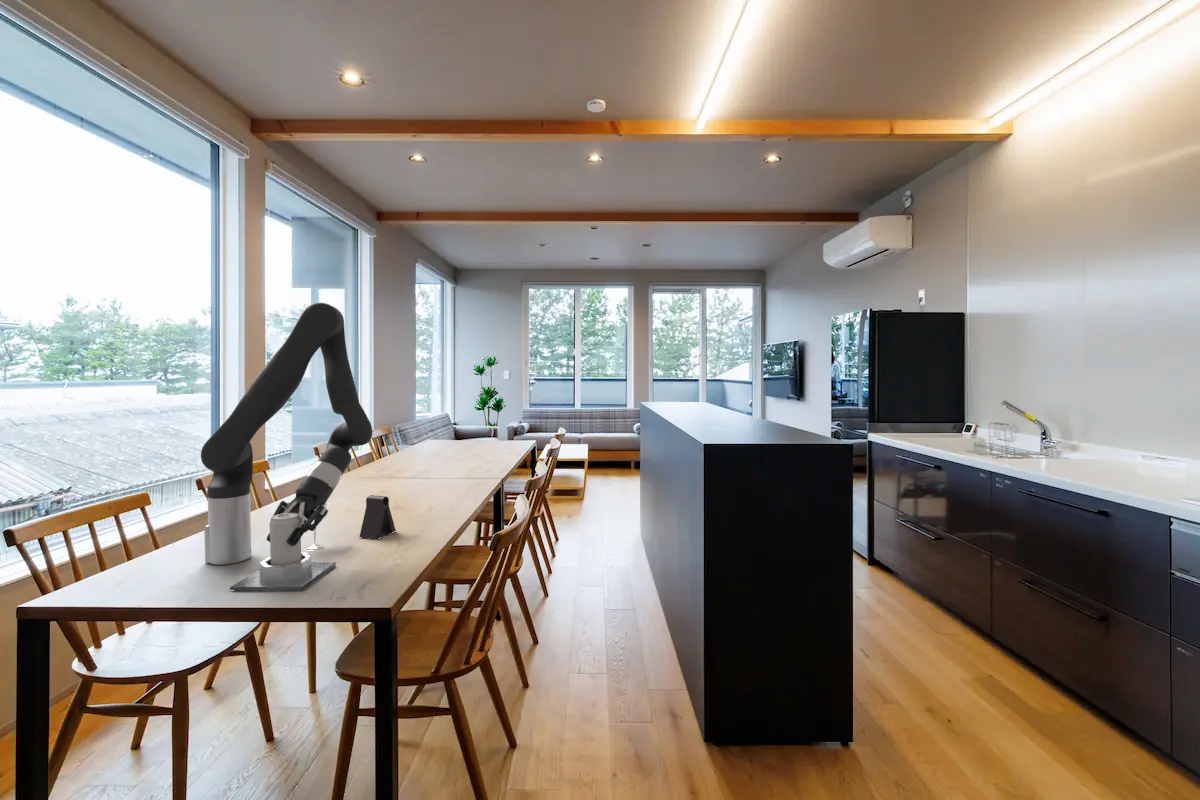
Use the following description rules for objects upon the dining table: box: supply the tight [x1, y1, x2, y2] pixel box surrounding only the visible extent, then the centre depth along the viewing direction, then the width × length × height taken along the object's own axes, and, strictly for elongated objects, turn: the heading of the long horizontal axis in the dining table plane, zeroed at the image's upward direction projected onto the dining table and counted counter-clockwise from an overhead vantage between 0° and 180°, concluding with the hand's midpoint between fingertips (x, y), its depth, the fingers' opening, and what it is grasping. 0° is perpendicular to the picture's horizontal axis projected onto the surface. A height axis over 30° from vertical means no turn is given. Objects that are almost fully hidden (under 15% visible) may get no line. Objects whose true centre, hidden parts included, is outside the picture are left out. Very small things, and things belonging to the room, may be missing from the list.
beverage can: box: [269, 513, 302, 565], centre depth 129 cm, size 6×6×12 cm
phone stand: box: [359, 495, 397, 540], centre depth 164 cm, size 9×6×12 cm, turn 162°
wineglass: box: [307, 502, 328, 551], centre depth 152 cm, size 7×7×12 cm
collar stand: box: [229, 552, 337, 592], centre depth 129 cm, size 16×16×4 cm
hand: (280, 542), depth 127 cm, fingers closed on beverage can, 6 cm apart
